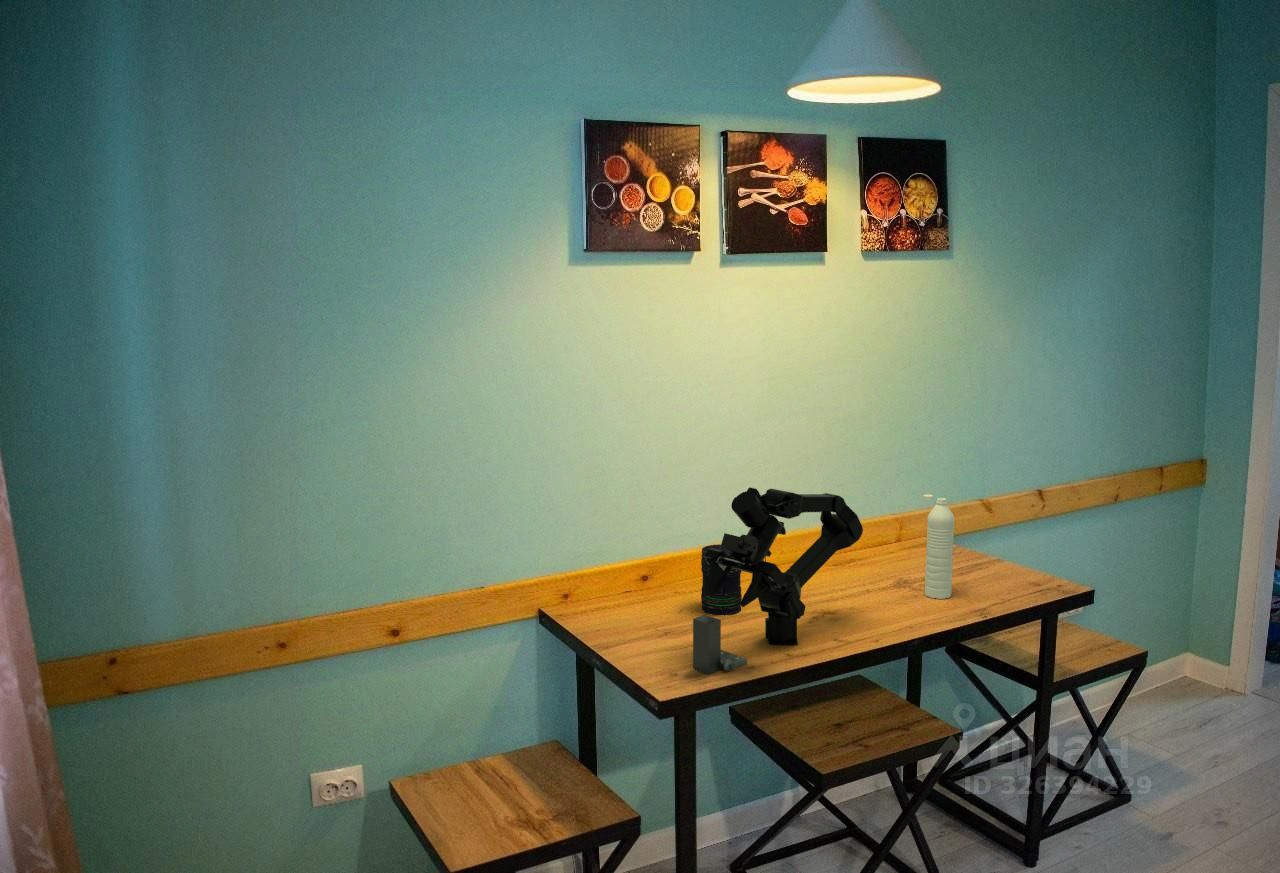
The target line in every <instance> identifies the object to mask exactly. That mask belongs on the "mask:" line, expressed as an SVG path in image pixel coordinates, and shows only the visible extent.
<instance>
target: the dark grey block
mask: <svg viewBox="0 0 1280 873" xmlns="http://www.w3.org/2000/svg"><path fill="white" fill-rule="evenodd" d="M721 621H722V620H721V619H720V618H717V617H713V616H711V615H708V614H707V615H706V614H703V615H699V616H697V617H694V618H692V670H693V669H695V670H694V671H696V670H697V672H699V671H700V672H699V673H702V672H703V673H702V674H705V675H706V676H710V675H714V674H717V673H718V672H721V670H722V668H721V650H722V648H721V645H722V643H721V642H722V641H721V640H722V639H721V638H722V636H721V635H722V634H721V632H722V631H721V630H722V627H721V626H722V624H721V623H722V622H721ZM713 673H714V674H713Z"/></svg>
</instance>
